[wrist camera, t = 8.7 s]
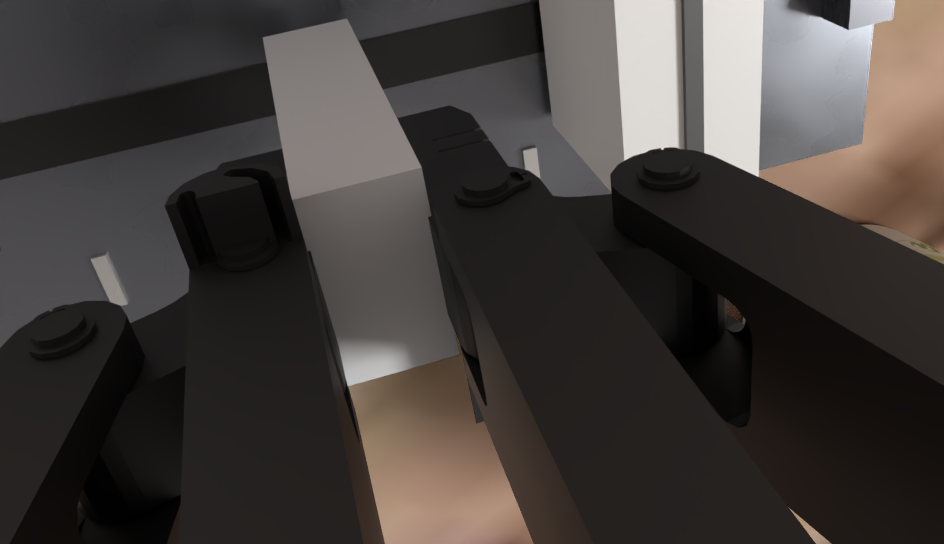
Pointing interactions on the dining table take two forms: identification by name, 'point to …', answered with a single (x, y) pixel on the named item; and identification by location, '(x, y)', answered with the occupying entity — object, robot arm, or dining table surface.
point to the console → (255, 122)
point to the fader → (655, 78)
